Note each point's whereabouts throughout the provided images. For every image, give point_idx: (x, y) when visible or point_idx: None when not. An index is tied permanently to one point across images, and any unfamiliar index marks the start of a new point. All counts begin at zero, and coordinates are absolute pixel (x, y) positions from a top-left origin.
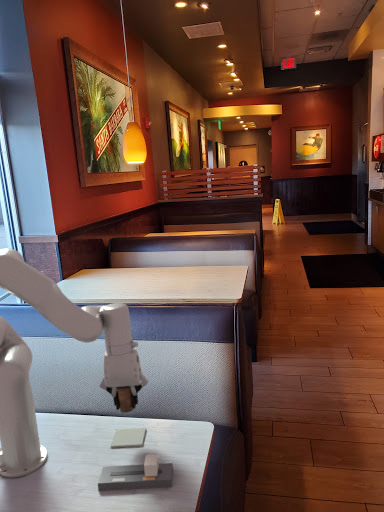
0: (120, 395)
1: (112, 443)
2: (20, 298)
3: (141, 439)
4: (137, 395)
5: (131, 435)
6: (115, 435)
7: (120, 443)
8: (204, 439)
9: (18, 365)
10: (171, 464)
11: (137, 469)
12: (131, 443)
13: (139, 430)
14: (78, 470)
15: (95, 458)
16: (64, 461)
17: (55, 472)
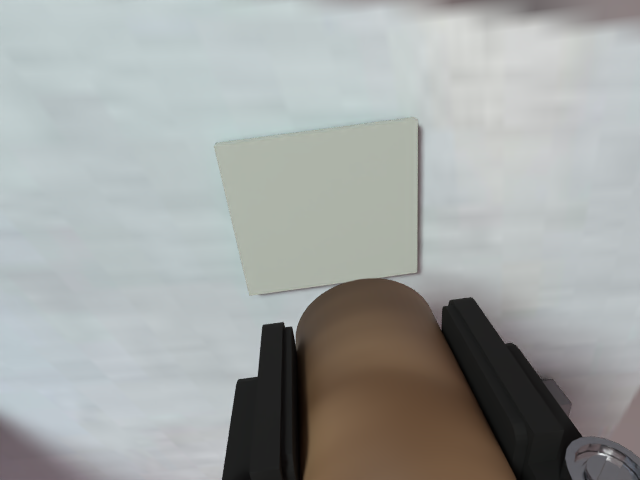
0: None
1: (250, 278)
2: None
3: (407, 237)
4: (555, 399)
5: (339, 204)
6: (236, 209)
7: (296, 273)
8: None
9: None
10: (565, 410)
11: None
12: (358, 270)
13: (380, 152)
14: (169, 409)
15: (205, 349)
16: (65, 376)
17: (77, 426)
